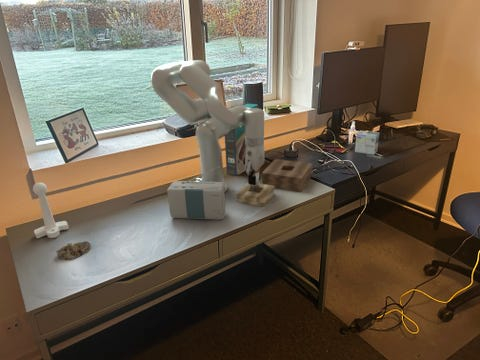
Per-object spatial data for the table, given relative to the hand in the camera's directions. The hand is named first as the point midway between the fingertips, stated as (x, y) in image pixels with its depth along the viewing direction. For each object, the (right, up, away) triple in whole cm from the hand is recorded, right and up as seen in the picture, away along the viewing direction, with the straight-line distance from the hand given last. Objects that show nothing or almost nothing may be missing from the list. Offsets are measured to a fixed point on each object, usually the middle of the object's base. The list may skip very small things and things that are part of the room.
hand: (254, 181), depth 155 cm
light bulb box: (+63, +16, +49) cm, 82 cm away
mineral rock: (-62, -24, -29) cm, 72 cm away
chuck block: (+16, 0, +17) cm, 24 cm away
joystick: (-75, -19, -18) cm, 79 cm away
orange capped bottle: (0, -3, +1) cm, 3 cm away
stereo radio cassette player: (-22, -14, -9) cm, 27 cm away
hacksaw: (+37, +8, +33) cm, 51 cm away
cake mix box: (-4, +7, +35) cm, 36 cm away
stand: (+1, -7, +3) cm, 7 cm away
